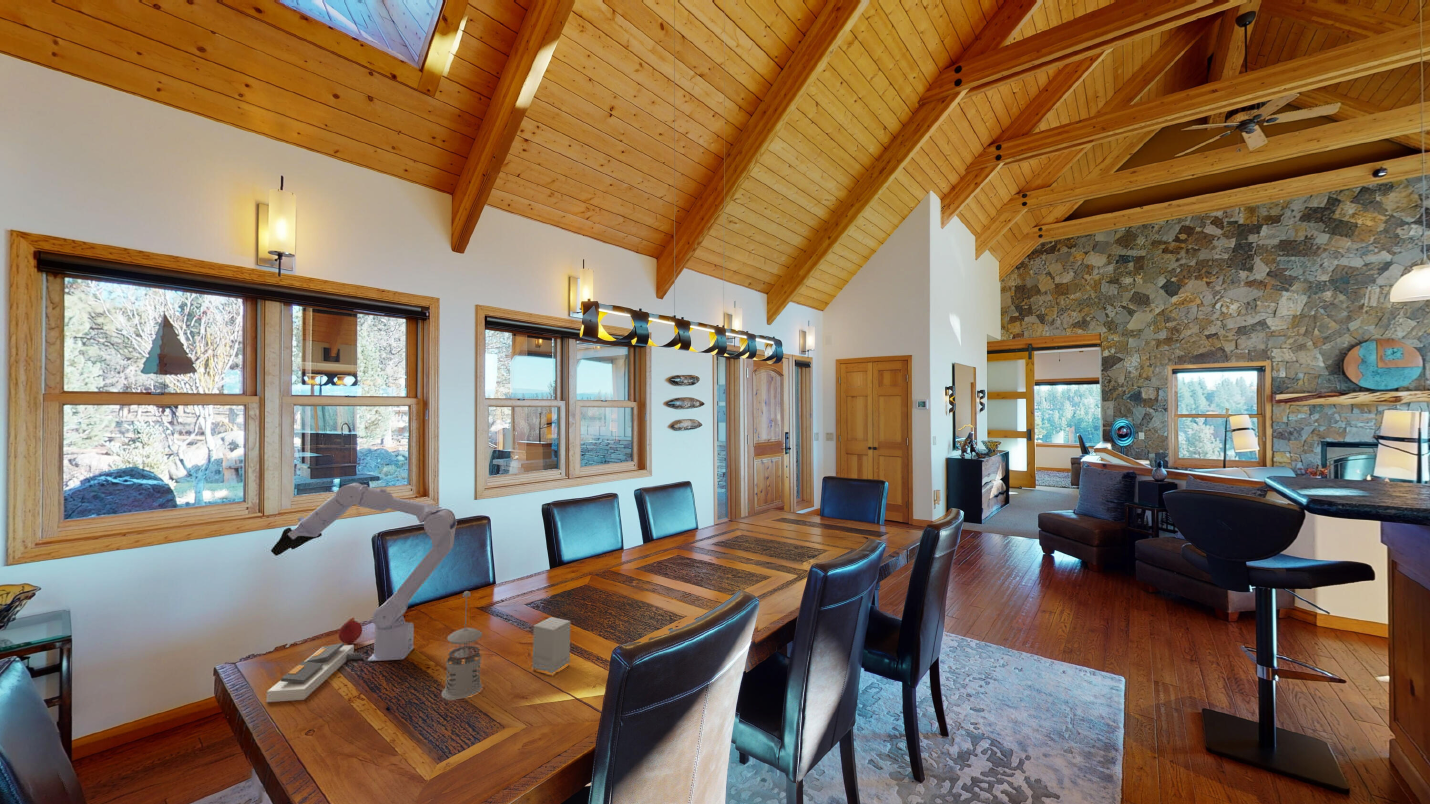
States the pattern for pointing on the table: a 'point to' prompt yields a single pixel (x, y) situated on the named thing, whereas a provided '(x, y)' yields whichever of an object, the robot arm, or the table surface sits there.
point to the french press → (465, 675)
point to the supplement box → (551, 644)
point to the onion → (350, 631)
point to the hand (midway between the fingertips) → (282, 549)
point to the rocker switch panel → (302, 690)
